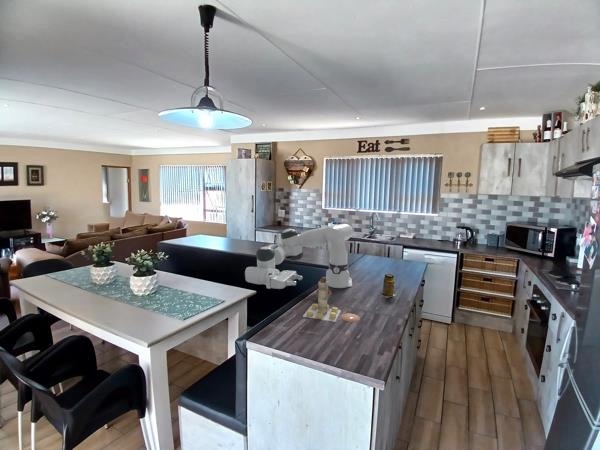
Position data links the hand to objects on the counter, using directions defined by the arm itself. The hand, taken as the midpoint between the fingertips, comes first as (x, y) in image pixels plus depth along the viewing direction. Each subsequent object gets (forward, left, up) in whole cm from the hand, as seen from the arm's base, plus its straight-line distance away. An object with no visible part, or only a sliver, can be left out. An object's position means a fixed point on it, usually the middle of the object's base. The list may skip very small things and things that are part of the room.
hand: (299, 280), depth 157 cm
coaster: (0, +26, -16) cm, 31 cm away
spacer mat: (0, +12, -16) cm, 20 cm away
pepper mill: (0, +12, -15) cm, 20 cm away
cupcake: (-19, +8, -16) cm, 27 cm away
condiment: (-41, +41, -16) cm, 61 cm away
